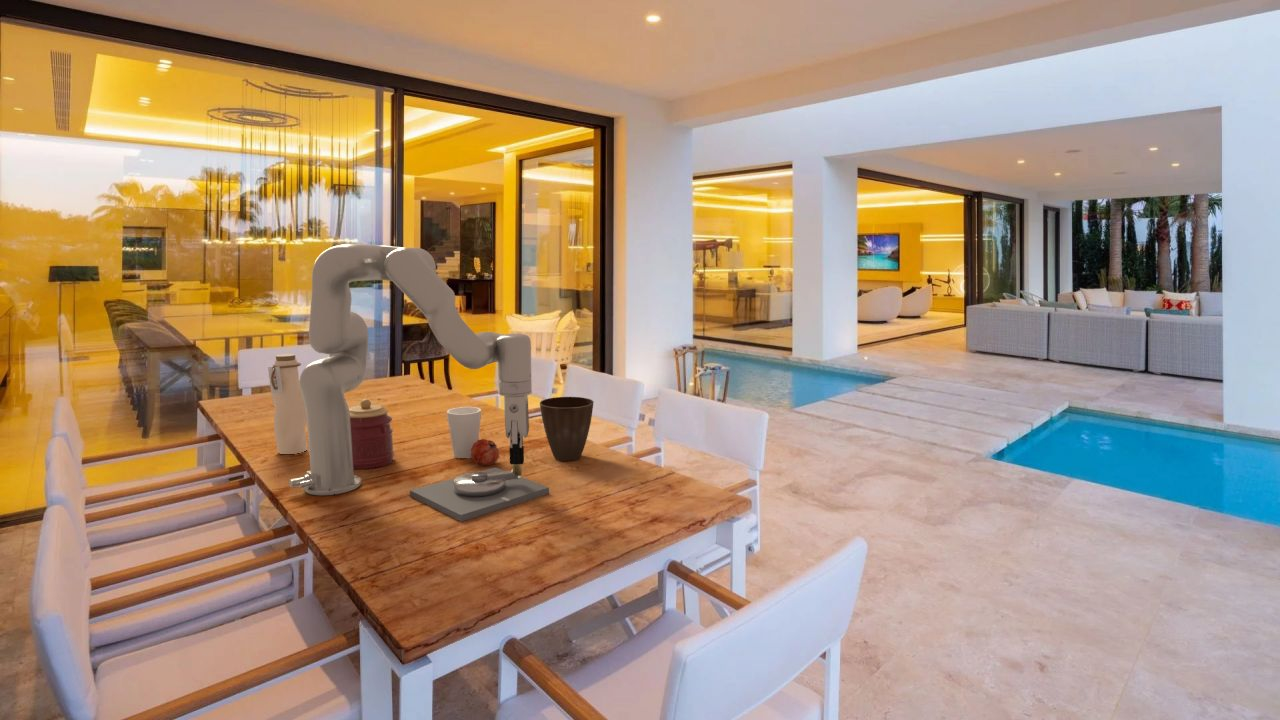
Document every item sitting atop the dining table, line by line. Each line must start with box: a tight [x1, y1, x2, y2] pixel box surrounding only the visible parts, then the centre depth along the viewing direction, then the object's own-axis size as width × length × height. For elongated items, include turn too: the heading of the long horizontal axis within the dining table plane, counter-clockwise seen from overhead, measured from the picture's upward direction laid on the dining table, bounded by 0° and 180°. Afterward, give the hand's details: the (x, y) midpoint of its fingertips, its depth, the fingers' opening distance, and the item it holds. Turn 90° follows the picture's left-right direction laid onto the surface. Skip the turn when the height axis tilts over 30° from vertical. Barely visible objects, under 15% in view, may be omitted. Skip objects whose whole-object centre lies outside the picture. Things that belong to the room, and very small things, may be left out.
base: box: [409, 466, 550, 522], centre depth 160 cm, size 24×22×2 cm
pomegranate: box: [471, 438, 500, 467], centre depth 183 cm, size 7×7×10 cm
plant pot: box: [539, 396, 594, 462], centre depth 189 cm, size 15×15×16 cm
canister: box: [348, 398, 395, 470], centre depth 183 cm, size 13×13×18 cm
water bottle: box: [267, 353, 309, 455], centre depth 192 cm, size 10×9×28 cm
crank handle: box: [453, 464, 523, 497], centre depth 160 cm, size 16×12×9 cm
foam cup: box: [446, 406, 482, 459], centre depth 191 cm, size 10×9×13 cm
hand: (517, 463), depth 160 cm, fingers closed
